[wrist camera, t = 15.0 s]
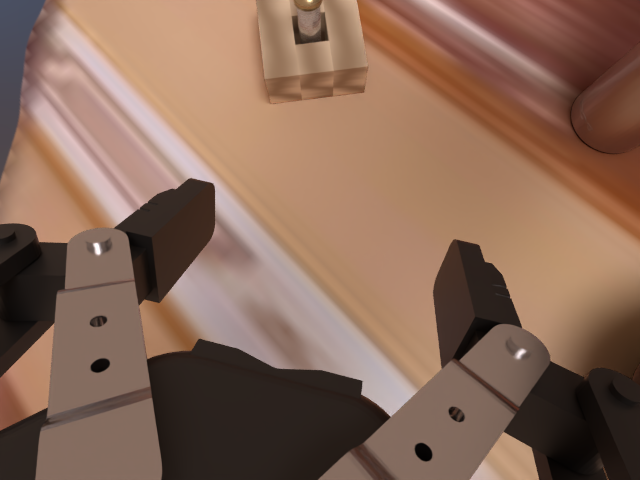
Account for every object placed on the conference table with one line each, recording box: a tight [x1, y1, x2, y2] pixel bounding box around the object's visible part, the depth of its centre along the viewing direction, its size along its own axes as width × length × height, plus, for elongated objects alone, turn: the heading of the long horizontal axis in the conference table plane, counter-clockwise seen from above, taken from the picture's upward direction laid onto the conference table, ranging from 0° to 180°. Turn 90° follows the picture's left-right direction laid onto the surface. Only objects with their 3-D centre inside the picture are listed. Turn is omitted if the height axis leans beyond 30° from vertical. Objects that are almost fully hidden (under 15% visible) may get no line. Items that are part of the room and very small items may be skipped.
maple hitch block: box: [256, 0, 368, 104], centre depth 46 cm, size 12×12×5 cm
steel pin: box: [293, 0, 323, 44], centre depth 44 cm, size 3×3×10 cm
